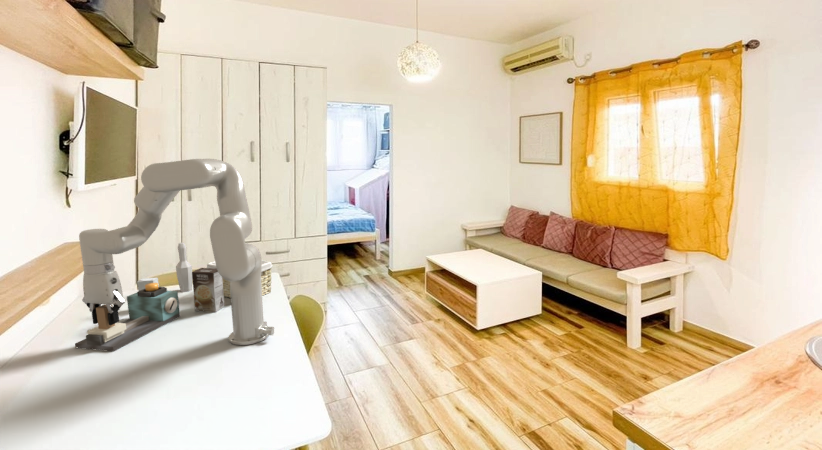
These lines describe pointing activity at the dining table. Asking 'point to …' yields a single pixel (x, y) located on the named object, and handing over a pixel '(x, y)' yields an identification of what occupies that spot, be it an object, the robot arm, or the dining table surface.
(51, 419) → the dining table surface
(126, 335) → the rail board
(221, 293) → the coffee box
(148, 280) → the skincare box
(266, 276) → the storage basket
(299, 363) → the dining table surface
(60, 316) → the dining table surface
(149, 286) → the orange rounded knob
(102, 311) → the carriage
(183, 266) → the faceted bottle
